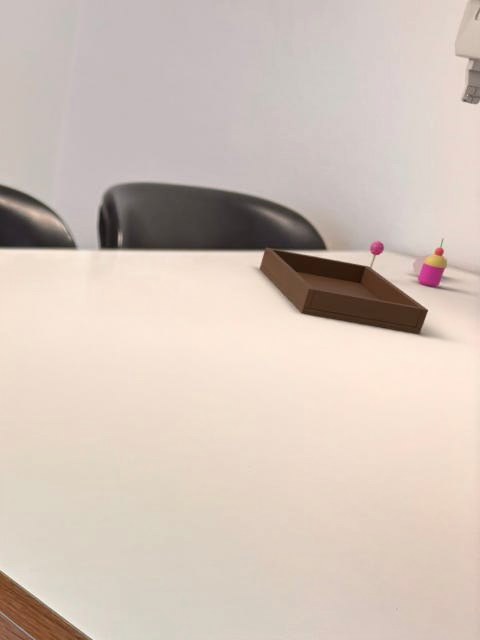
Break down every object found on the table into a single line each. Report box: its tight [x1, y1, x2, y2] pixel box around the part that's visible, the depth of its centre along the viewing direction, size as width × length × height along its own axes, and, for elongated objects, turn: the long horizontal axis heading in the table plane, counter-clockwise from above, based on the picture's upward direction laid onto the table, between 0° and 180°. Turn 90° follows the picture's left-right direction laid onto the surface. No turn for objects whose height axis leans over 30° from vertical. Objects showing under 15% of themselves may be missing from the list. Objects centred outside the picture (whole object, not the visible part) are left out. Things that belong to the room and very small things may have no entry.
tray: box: [259, 247, 429, 334], centre depth 124 cm, size 13×21×3 cm, turn 0°
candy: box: [369, 237, 448, 288], centre depth 145 cm, size 18×8×6 cm, turn 139°
